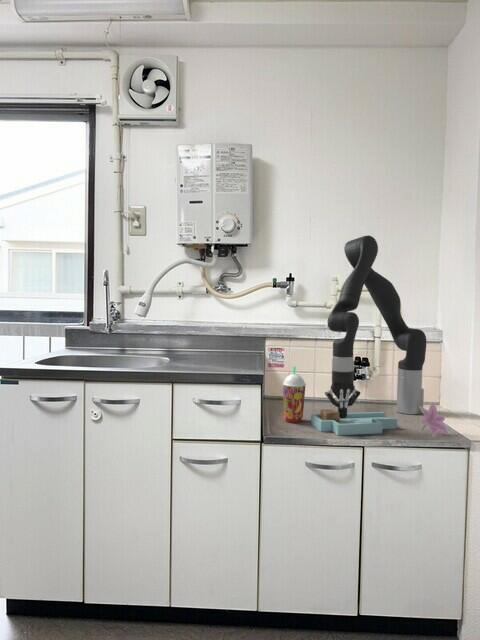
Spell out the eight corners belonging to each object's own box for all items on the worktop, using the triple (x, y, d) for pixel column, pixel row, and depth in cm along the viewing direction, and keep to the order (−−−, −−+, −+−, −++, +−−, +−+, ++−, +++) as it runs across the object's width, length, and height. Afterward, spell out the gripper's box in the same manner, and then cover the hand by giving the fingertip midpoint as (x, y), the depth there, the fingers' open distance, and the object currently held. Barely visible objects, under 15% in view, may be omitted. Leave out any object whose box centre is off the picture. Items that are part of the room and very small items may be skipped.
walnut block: (333, 418, 186) (333, 409, 186) (339, 422, 182) (339, 412, 181) (320, 419, 185) (320, 409, 185) (325, 423, 181) (325, 413, 180)
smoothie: (278, 419, 193) (279, 365, 192) (298, 417, 196) (299, 364, 195) (287, 424, 185) (289, 368, 184) (308, 423, 188) (310, 367, 187)
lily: (412, 439, 174) (427, 417, 170) (403, 417, 184) (417, 396, 180) (444, 449, 175) (459, 428, 171) (434, 427, 186) (448, 406, 182)
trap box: (383, 421, 193) (383, 411, 192) (404, 432, 178) (404, 422, 178) (310, 424, 187) (311, 414, 187) (326, 435, 172) (326, 425, 172)
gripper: (356, 366, 187) (355, 414, 189) (321, 368, 185) (320, 416, 186) (365, 370, 180) (364, 419, 181) (329, 371, 177) (328, 421, 179)
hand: (342, 417), depth 184 cm, fingers closed
